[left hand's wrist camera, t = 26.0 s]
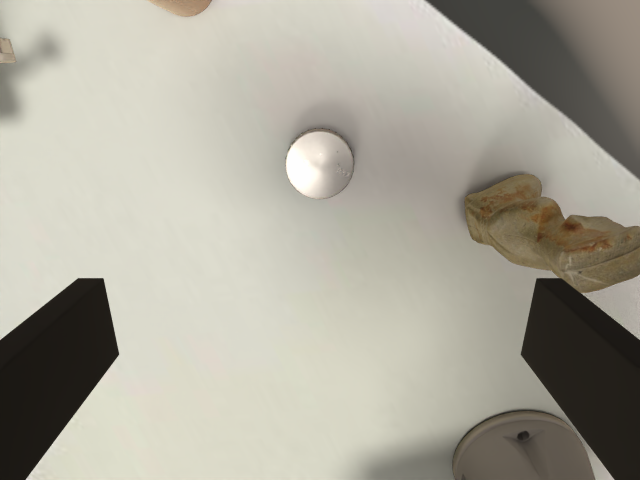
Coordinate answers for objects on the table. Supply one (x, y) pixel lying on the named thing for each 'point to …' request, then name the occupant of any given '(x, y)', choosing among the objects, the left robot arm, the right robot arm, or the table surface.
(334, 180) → the lid
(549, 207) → the sculpture
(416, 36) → the table surface
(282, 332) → the table surface
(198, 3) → the jar
